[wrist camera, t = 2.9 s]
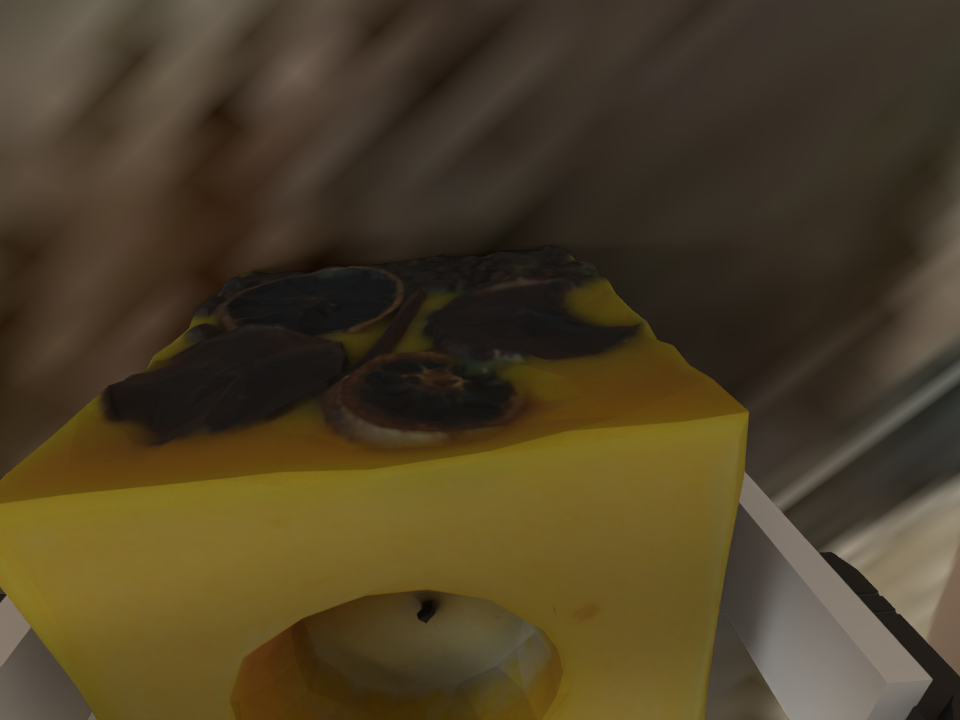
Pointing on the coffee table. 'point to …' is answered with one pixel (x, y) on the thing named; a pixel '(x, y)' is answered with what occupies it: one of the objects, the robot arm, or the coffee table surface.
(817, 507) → the coffee table surface
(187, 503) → the candle
